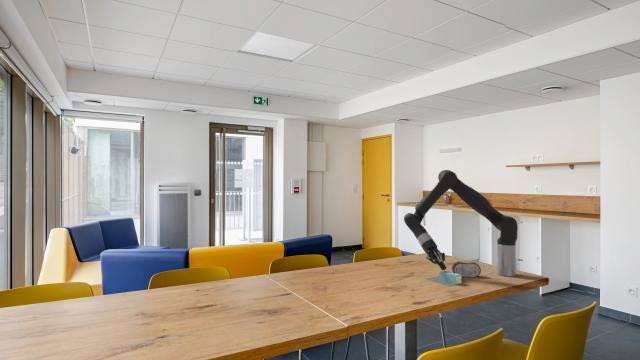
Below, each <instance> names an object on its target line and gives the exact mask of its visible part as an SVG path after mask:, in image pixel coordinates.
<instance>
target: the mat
mask: <svg viewBox="0 0 640 360" xmlns="http://www.w3.org/2000/svg"><path fill="white" fill-rule="evenodd" d="M425 280H427V281H431V282H434V283H437V284H440V285H442V286H447V287H456V286H461V285H464V284H468V283H469V281H468V282H467V281H464V280H461V284H457V285H454V284H451V283H447V282H444V281H440V275H438V276H433V277H427V278H425Z"/></svg>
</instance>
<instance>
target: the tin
mask: <svg viewBox="0 0 640 360" xmlns="http://www.w3.org/2000/svg"><path fill="white" fill-rule="evenodd" d="M451 272H453V273H456V274H460V275H461V277H471V278H472V277H473V278H474V277H479V276H480V275H481V273H482V269H481V267H480V265H479V264H478V263H477V262H474V261H456V262H454V263H453V264H452V266H451Z"/></svg>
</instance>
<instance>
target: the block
mask: <svg viewBox="0 0 640 360" xmlns="http://www.w3.org/2000/svg"><path fill="white" fill-rule="evenodd" d="M439 276H440V281H444V282H447V283H451V284H454V285H456V286H458V285H457V284H461V281H462V276H461V275H460V274H456V273H453V271H448V270H441V271H439ZM461 285H462V284H461Z"/></svg>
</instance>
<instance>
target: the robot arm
mask: <svg viewBox="0 0 640 360" xmlns="http://www.w3.org/2000/svg"><path fill="white" fill-rule="evenodd" d="M437 178H438V182H437V183H436V185H435V186H434V188H433V189H432V190H431V191H429V192H428V193H427V194H425V195H424V196H423V198H422V199H420V201H419V202H418V203H417V204H416V205H415V211H414V213H412V212H408V213H405V215H404V216H403V221H404V224H405V225H406V226H407V227H408V229H409V230H410V231H411V232H412V233H413V235H414V236H415V238H416V240H417V242H418V244H419V245H420V247H421V248H422V250H423V252H424V253H425V254H427V255H426V256H425V258H426V259H427V260H428V261H429V262H431V263H432V264H434V265H438V267H439V268H440V270H441V271H446V270H447V266H446V264H445V263H444V262H445V261H446V254H445V252H441V251H440V249H438V245H437V243H436V241H434V238H433V237H432V236H431V234H430V233H429V232H428V231H427V230H426V228H425V227H424V226H423V225H422V222H423V220H424V218H425V215H426V214H427V213H428V212H429V211H430V209H431V208H432V207H433V206H434V205H435V204H436V203H437V202H438V201H439V200H440V198H442V196H443V195H444V194H445V193H446V192H447V191H449V190H451V191H452V192H454V193H455V194H456V195H457V196H458V197H459V198H460V199H461V200H462V201H463V202H464V203H465V204H466V205H467V206H469V207H470V208H471V209H472V210H474V211H475V212H477V213H478V214H479V215H480V216H482V217H483V218H485V219H486V220H488V222H490V224H492V225H493V226H494V227H495V228H496V230H498V231H500V237H498V238H497V240H496V243H497V247H496V248H497V250H496V251H497V254H496V256H497V257H496V258H497V267H496V268H497V275H499V276H502V277H515V276H517V257H516V253H517V252H516V249H517V247H516V244H517V243H516V242H517V240H518V221H517V220H516V218H514V217H512V216H509V215H508V216H507V215H505V214H503V213H501V212H500V211H499V210H497V209H495V208H494V207H493V205H492V204H491V202H490V201H489V199H487V198H486V197H485V196H484V195H482V193H480V192H479V191H478V190H476V189H474V188H472V187H471V186H469V185H467V184H466V183H465V182H463V181H461V179H460V178H458V175H457V174H456V173H455V172H454V171H452V170H450V169H444V170H442V171H440V172H439V173H438V176H437Z"/></svg>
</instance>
